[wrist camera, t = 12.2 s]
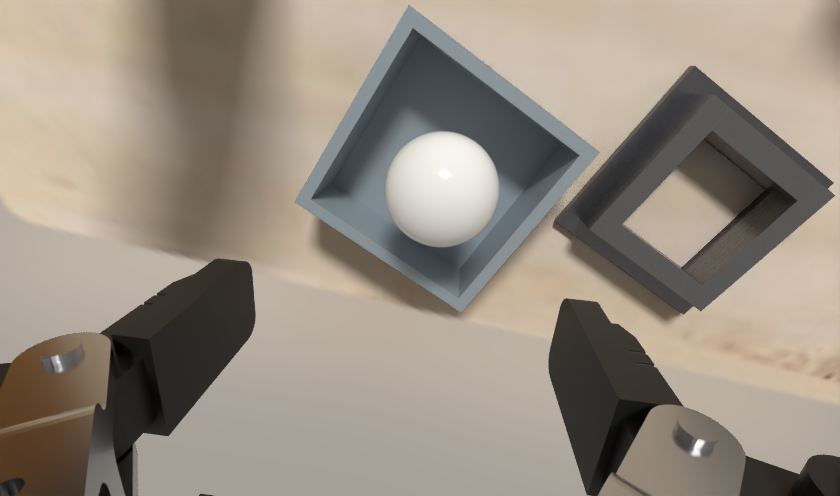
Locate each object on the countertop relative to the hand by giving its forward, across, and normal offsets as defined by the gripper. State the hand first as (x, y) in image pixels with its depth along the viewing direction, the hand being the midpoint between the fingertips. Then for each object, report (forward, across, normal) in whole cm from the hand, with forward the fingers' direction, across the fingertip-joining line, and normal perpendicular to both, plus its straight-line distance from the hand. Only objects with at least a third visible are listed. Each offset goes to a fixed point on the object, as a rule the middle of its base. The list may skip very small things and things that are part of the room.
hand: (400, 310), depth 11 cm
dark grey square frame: (+22, -18, +1) cm, 28 cm away
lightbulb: (+21, -1, 0) cm, 21 cm away
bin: (+22, 0, 0) cm, 22 cm away
